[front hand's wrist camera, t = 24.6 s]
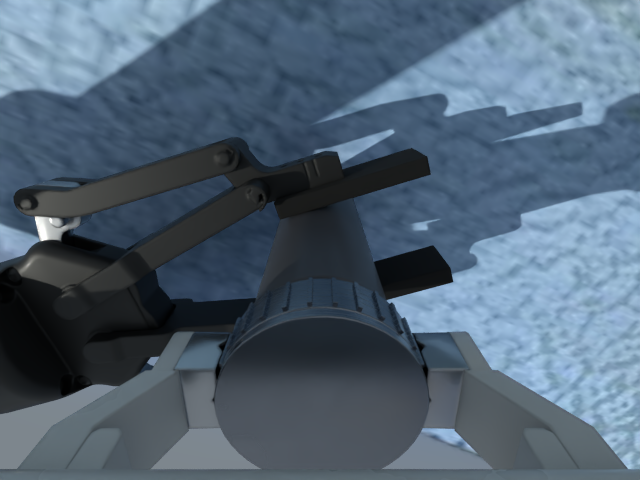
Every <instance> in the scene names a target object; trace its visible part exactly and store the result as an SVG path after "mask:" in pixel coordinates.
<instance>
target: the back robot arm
mask: <svg viewBox="0 0 640 480" xmlns="http://www.w3.org/2000/svg"><path fill="white" fill-rule="evenodd" d="M223 174H224V175H225V176H226V177H227V178H228V179H229V181H230V182H231V183H232V184H233V186H232V187H230V188H228V189H227V190H225V191H223V192H222V193H220V194H218V195H217V196H215V197H213V198H212V199H210V200H208V201H207V202H205V203H204V204H202V205H200V206H199V207H197V208H195V209H194V210H192V211H190V212H189V213H187V214H185V215H184V216H182V217H180V218H179V219H177V220H175V221H174V222H172V223H170V224H169V225H167V226H165V227H164V228H162V229H160V230H159V231H157V232H155V233H152V234H151V235H149V236H147V237H146V238H144V239H142V240H141V241H139V242H137V243H136V244H134V245H132V246H131V247H129V248H127V249H123V248H119V247H116V246H112V245H109V244H105V243H102V242H99V241H95V240H92V239H88V238H85V237H82V236H78V235H75V234H73V230H74V229H75V228H77V227H78V226H80V225H82V224H84V223H86V222H88V221H89V220H90V219H91V216H92V214H93V213H97V212H100V211H103V210H107V209H110V208H113V207H117V206H120V205H123V204H127V203H130V202H133V201H136V200H140V199H143V198H146V197H150V196H153V195H156V194H160V193H163V192H166V191H170V190H173V189H176V188H180V187H183V186H186V185H189V184H193V183H196V182H199V181H203V180H206V179H209V178H213V177H216V176H219V175H223ZM427 175H431V173H430V168H429V163H428V158H427V156H425V155H423V154H422V153H420V152H418V151H416V150H414V149H413V148H410V149H407V150H404V151H400V152H397V153H394V154H391V155H388V156H384V157H381V158H378V159H375V160H372V161H368V162H365V163H362V164H359V165H355V166H352V167H349V168H346V169H343V170H342V166H341V163H340V159H339V156H338V153H337V152H333V151H323V152H320V153H317V154H314V155H311V156H308V157H305V158H301V159H298V160H295V161H292V162H289V163H286V164H283V165H279V166H276V167H268V166H264V165H263V164H261V163H260V162H259V161H258V160H257V159H256V158H255V156H254V155H253V154H252V153H251V152H250V150H249V147H248V145H247V143H246V142H245V141H244V140H243V139H241V138H238V137H233V138H229V139H226V140H223V141H219V142H216V143H213V144H210V145H206V146H203V147H200V148H197V149H194V150H190V151H187V152H184V153H181V154H178V155H174V156H171V157H168V158H165V159H162V160H158V161H155V162H152V163H149V164H146V165H142V166H139V167H136V168H133V169H129V170H126V171H123V172H120V173H117V174H113V175H110V176H107V177H104V178H101V179H83V178H66V177H60V178H56V179H52V180H49V181H46V182H43V183H39V184H36V185H33V186H30V187H26V188H23V189H20V190H18V191H17V192H16V193H15V195H14V203H15V206H16V207H17V209H18V210H19V211H20V212H22V213H23V214H25V215H28V216H34V217H35V221H36V226H37V230H38V235H39V239H40V242H38V243H36V244H34V245H33V246H32V247H31V248H30V249H29V250H28V252H27V253H26V255H23V256H20V257H17V258H14V259H11V260H8V261H4V262H1V263H0V414H3V413H9V412H12V411H16V410H20V409H24V408H27V407H31V406H35V405H39V404H43V403H46V402H50V401H54V400H58V399H61V398H63V397H66V396H69V395H71V394H73V393H75V392H78V391H80V390H82V389H84V388H86V387H89V386H91V385H95V384H103V385H110V386H120V385H122V384H124V383H125V382H127V381H129V380H130V379H132V378H134V377H135V376H137V375H139V374H140V373H142V372H144V371H145V370H152V368H153V367H154V366H152V365H150V364H148V363H147V362H148V360H149V359H150V357H158V356H160V355H161V354H162V352H163V351H164V349H165V347H166V346H167V344H168V343H169V341H170V339H171V338H172V336H173V335H174V334H175V333H176V332H229V333H232V331H233V329H234V326H235V323H236V320H237V318H238V317H240V318H241V317H242V316H243V315H244V314H245V312H246V311H247V309H248V306H249V304H250V303H251V302H253V303H255V300H256V298H249V299H235V300H221V301H206V302H193V300H192V299H187V298H186V299H171V300H170V298H169V297H168V296H167V295H166V293H165V292H164V291H163V290H162V289H161V288H160V287H159V284H158V280H157V275H156V271H155V269H156V268H158V267H160V266H162V265H163V264H165V263H167V262H168V261H170V260H172V259H174V258H175V257H177V256H179V255H180V254H182V253H184V252H186V251H187V250H189V249H191V248H193V247H194V246H196V245H198V244H199V243H201V242H203V241H205V240H206V239H208V238H210V237H212V236H213V235H215V234H217V233H218V232H220V231H222V230H224V229H225V228H227V227H229V226H231V225H232V224H234V223H236V222H237V221H239V220H241V219H243V218H244V217H246V216H248V215H249V214H251V213H253V212H255V211H256V210H258V209H259V211H262V210H263V209H264V208H265V206H266V204H267V203H269V202H272V201H275V202H274V205H275V208H276V210H277V213H278V216H279V218H280V220H281V219H285V218H288V217H291V216H295V215H298V214H301V213H304V212H308V211H311V210H314V209H318V208H321V207H324V206H328V205H331V204H334V203H338V202H341V201H344V200H348V199H351V198H354V197H358V196H361V195H364V194H368V193H371V192H374V191H377V190H381V189H384V188H387V187H391V186H394V185H397V184H401V183H404V182H407V181H411V180H414V179H417V178H421V177H424V176H427ZM374 264H375V267H376V270H377V273H378V276H379V279H380V282H381V285H382V288H383V291H384V294H385V298H386V300H388V299H392V298H396V297H399V296H403V295H407V294H411V293H414V292H418V291H422V290H425V289H429V288H433V287H437V286H440V285H444V284H448V283H452V282H453V279H452V274H451V269H450V267H449V265H448V264H447V263H446V261H445V260H444V259H443V258H442V256H441V255H440V254H439V252H438V251H437V250H436V248H435V247H434V246H429V247H426V248H422V249H418V250H415V251H411V252H408V253H404V254H400V255H397V256H393V257H390V258H386V259H383V260H379V261H375V262H374Z"/></svg>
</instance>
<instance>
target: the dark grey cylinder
mask: <svg viewBox="0 0 640 480" xmlns="http://www.w3.org/2000/svg"><path fill="white" fill-rule="evenodd" d="M309 277H313V279H331V278H332V277H334V278H336V280H342V281H347V282H351V283H354V282H357V283H358V285H360V286H363V287H365V288H367V289H369V290H371V291H373V292H374V290H375V291H377V292H378V294H379V296H381V297H382V298H384V299H385V300H386V298H385V294H384V291H383V288H382V285H381V282H380V279H379V276H378V273H377V270H376V267H375V264H374V261H373V258H372V255H371V252H370V249H369V246H368V243H367V240H366V237H365V233H364V230H363V227H362V224H361V221H360V218H359V215H358V212H357V209H356V206H355V203H354V200H353V198H351V199H348V200H344V201H341V202H338V203H334V204H331V205H328V206H324V207H321V208H318V209H314V210H311V211H308V212H304V213H301V214H298V215H295V216H291V217H288V218H285V219H281V220H280V222H279V225H278V229H277V232H276V235H275V238H274V242H273V245H272V248H271V251H270V255H269V258H268V261H267V265H266V268H265V271H264V274H263V278H262V281H261V284H260V287H259V291H258V294H257V297H256V300H255V302H256V301H257V300H258V299H260V298H261V297H263V296H264V295H265V293H266V291H268V290H270V291H272V290H274V289H276V288H279V287H281V286H284V285H286V282H289V281H290V283H293V282H297V281H301V280H308V278H309Z"/></svg>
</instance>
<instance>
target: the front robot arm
mask: <svg viewBox="0 0 640 480" xmlns="http://www.w3.org/2000/svg"><path fill="white" fill-rule="evenodd" d="M230 334H232V333H229V332H176V333H175V334H174V335H173V336H172V338H171V339H170V341H169V343H168V344H167V346H166V347H165V349H164V351H163V352H162V354H161V355H160V357H159V359H158V360H157V362H156V364H155V365H154V367H153V368H152V370H145V371H144V372H142V373H140V374H139V375H137V376H135V377H134V378H132V379H130V380H129V381H127V382H125V383H124V384H122V385H120V386H119V387H117V388H115V389H114V390H112V391H110V392H109V393H107V394H105V395H104V396H102V397H100V398H99V399H97V400H95V401H93V402H92V403H90V404H88V405H87V406H85V407H83V408H82V409H80V410H78V411H77V412H75V413H73V414H72V415H70V416H68V417H67V418H65V419H63V420H62V421H60V422H58V423H57V424H55V425H53V426H52V427H51V428H50V429H49V430H48V432H47V433H46V434H45V435H44V437H43V438H42V439H41V440H40V442H39V443H38V444H37V445H36V446H35V448H34V449H33V450H32V451H31V452H30V454H29V455H28V456H27V457H26V459H25V460H24V461H23V462H22V463H21V465H20V466H19V467H18V468H17V469H0V480H640V469H628V468H627V467H626V466H625V465H624V464H623V462H622V461H621V460H620V459H619V457H618V456H617V455H616V454H615V453H614V451H613V450H612V449H611V448H610V447H609V445H608V444H607V443H606V442H605V441H604V439H603V438H602V437H601V436H600V434H599V433H598V432H597V431H596V430H595V428H594V427H593V426H591V425H589V424H587V423H586V422H584V421H582V420H581V419H579V418H577V417H576V416H574V415H572V414H571V413H569V412H567V411H566V410H564V409H562V408H561V407H559V406H557V405H555V404H554V403H552V402H550V401H549V400H547V399H545V398H544V397H542V396H540V395H539V394H537V393H535V392H534V391H532V390H530V389H529V388H527V387H525V386H523V385H522V384H520V383H518V382H517V381H515V380H513V379H512V378H510V377H508V376H507V375H505V374H503V373H502V372H500V371H498V370H492V369H491V368H490V366H489V364H488V363H487V361H486V360H485V358H484V357H483V355H482V354H481V352H480V350H479V349H478V347H477V346H476V344H475V343H474V341H473V339H472V338H471V336H470V335H469V333H467V332H446V333H412V334H413V335H414V338H415V341H416V343H417V346H418V348H419V351H420V353H421V356H422V358H423V361H424V363H425V368H423V371H424V373H425V376H426V379H427V383H428V387H429V409H428V414H427V418H426V421H425V424H424V426H423V428H445V429H455V431H456V432H457V433H458V434H459V435H460V436H461V437H462V438H463V439H464V440H465V441H466V442H467V443H468V444H469V445H470V446H471V447H472V448H473V449H474V450H475V451H476V452H477V453H478V454H479V455H480V456H481V457H482V458H483V459H484V460H485V461H486V462H487V463H488V464H489V465H490V466H491V467H492V468H493V469H151V468H152V467H153V466H154V465H155V464H156V463H157V462H158V461H159V460H160V459H161V458H162V457H163V456H164V455H165V454H166V453H167V452H168V451H169V450H170V449H171V448H172V447H173V446H174V445H175V444H176V443H177V442H178V441H179V440H180V439H181V438H182V437H183V436H184V435H185V434H186V433H187V432H188V431H189V430H188V429H198V428H220V426H219V423H218V420H217V417H216V412H215V406H214V392H215V386H216V381H217V378H218V376H219V373H220V370H221V368H220V367H218V365H219V362H220V359H221V357H222V354H223V351H224V349H225V346H226V343H227V340H228V338H229V335H230Z"/></svg>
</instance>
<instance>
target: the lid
mask: <svg viewBox="0 0 640 480" xmlns="http://www.w3.org/2000/svg"><path fill="white" fill-rule="evenodd" d="M218 367H220V368H221V370H220V373H219V376H218V378H217V381H216V386H215V392H214V406H215V412H216V417H217V420H218V423H219V426H220V428H221V430H222V432H223V434H224V435H225V437H226V438H227V440H228V441H229V442H230V444H231V445H232V446H233V447H234V448H235V449H236V451H237V452H238V453H239V454H241V455H242V456H243V457H244V458H246V459H247V460H248V461H250V462H251V463H253V464H254V465H256V466H257V467H259V468H261V469H382V468H384V467H385V466H387V465H389V464H390V463H392V462H393V461H395V460H396V459H397V458H399V457H400V456H401V455H402V454H403V453H404V452H406V451H407V450H408V449H409V447H410V446H411V445H412V444H413V443H414V442H415V440H416V439H417V437H418V435H419V434H420V432H421V430H422V428H423V426H424V424H425V421H426V418H427V414H428V409H429V387H428V383H427V379H426V376H425V373H424V371H423V368H425V363H424V361H423V358H422V356H421V353H420V351H419V348H418V346H417V343H416V341H415V338H414V335H413V334H412V333H411V330H410V328H409V325H408V323H407V320H406V318H405V317H404V318H401V316H400V315H399V313H398V312H397V311H396V308H395V305H394V304H393V303H390V304H389V303H388V302H387V301H386V300H385V299H384V298H382V297H381V296H379V294H378V292H377V291H375V290H374V292H373V291H371V290H369V289H367V288H365V287H363V286H360V285H358V283H357V282H354V283H351V282H347V281H342V280H336V278H334V277H332V278H331V279H313V277H309V278H308V280H301V281H297V282H293V283H290V281H289V282H286V285H284V286H281V287H279V288H276V289H274V290H272V291H270V290H268V291H266V293H265V295H264V296H263V297H261V298H260V299H258V300H257V301H256V302H255V303H253V302H251V303H250V304H249V306H248V309H247V311H246V312H245V314H244V315H243V316H242V317H241V318H240V317H238V318H237V320H236V323H235V326H234V329H233V331H232V334H230V335H229V338H228V340H227V343H226V346H225V349H224V351H223V354H222V357H221V359H220V362H219V365H218Z"/></svg>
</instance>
